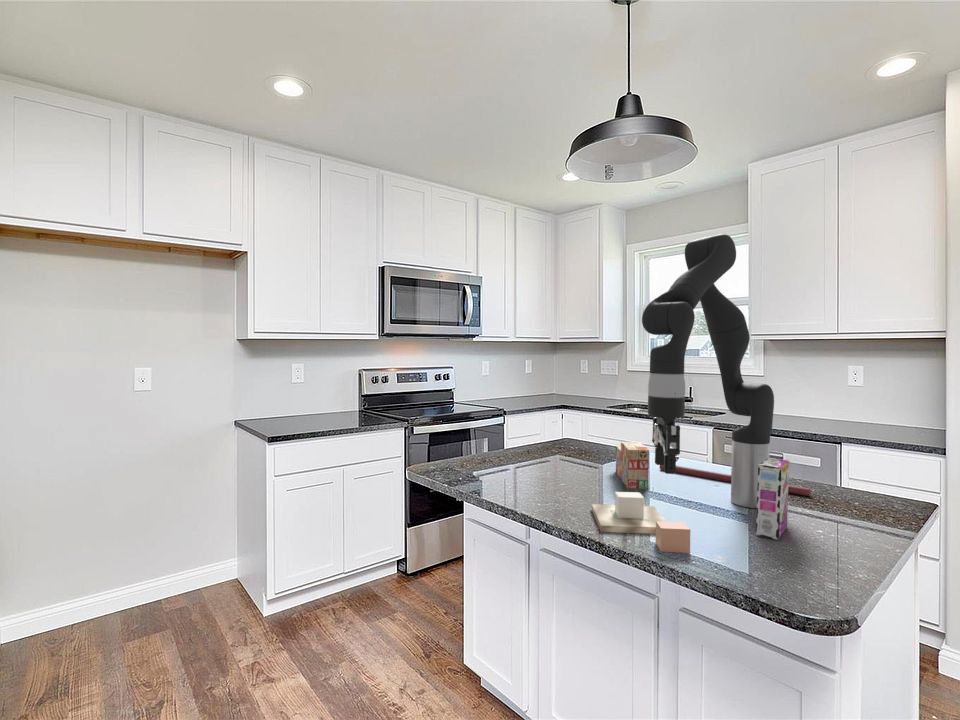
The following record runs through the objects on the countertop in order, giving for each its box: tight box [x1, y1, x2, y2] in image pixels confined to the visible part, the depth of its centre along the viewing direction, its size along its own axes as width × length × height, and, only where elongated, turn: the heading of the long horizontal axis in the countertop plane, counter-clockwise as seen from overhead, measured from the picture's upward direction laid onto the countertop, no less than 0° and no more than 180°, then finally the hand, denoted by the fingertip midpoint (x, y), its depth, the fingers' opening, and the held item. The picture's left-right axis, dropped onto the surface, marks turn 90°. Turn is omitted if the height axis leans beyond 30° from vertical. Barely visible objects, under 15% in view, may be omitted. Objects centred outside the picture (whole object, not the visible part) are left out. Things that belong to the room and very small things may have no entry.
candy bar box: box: [755, 457, 790, 541], centre depth 120 cm, size 11×5×16 cm, turn 141°
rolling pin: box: [659, 465, 812, 497], centre depth 164 cm, size 45×3×3 cm, turn 46°
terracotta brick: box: [655, 520, 691, 554], centre depth 110 cm, size 6×4×5 cm
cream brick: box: [614, 491, 645, 518], centre depth 127 cm, size 6×4×5 cm
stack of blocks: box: [615, 441, 650, 490], centre depth 166 cm, size 21×6×12 cm, turn 175°
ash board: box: [591, 503, 667, 535], centre depth 127 cm, size 16×16×2 cm
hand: (664, 468), depth 112 cm, fingers open, 8 cm apart
